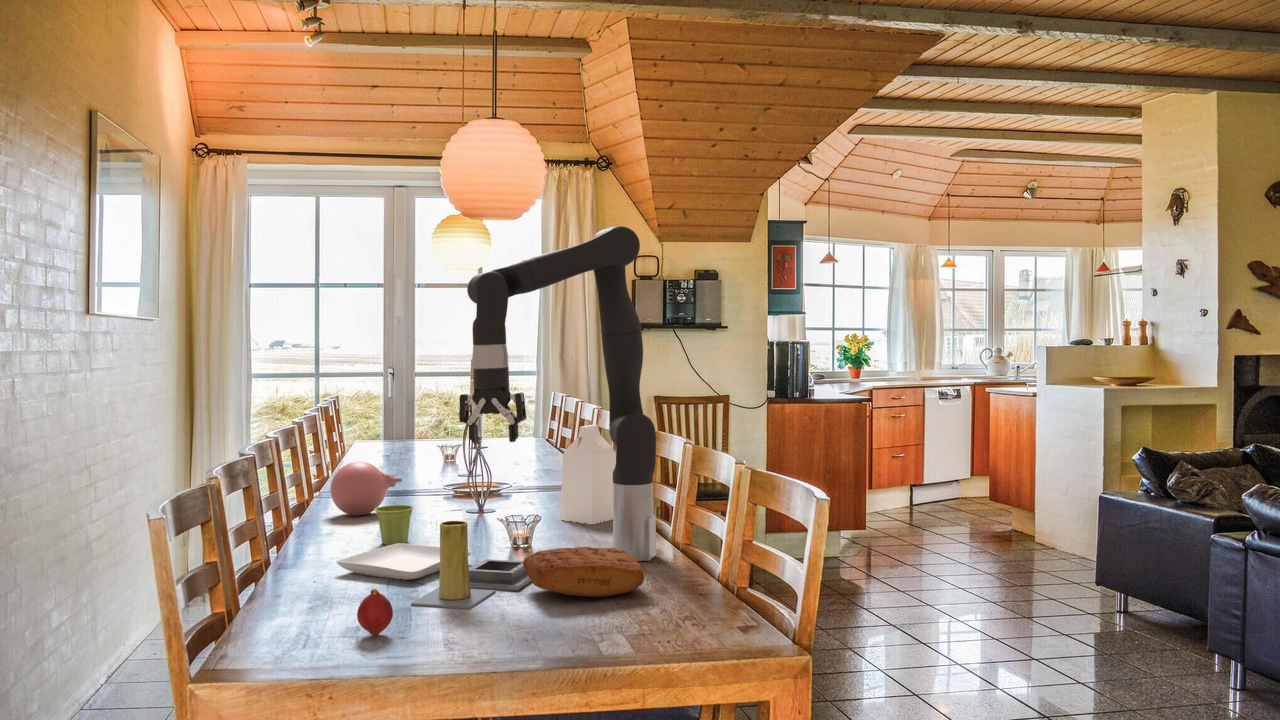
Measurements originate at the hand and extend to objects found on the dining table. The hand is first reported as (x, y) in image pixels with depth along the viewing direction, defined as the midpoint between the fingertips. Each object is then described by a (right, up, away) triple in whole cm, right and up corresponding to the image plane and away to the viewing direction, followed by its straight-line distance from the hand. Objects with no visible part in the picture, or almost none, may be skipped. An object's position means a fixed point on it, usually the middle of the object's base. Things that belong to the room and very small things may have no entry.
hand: (493, 442), depth 202 cm
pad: (-5, -29, -19) cm, 35 cm away
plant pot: (-30, -28, +33) cm, 52 cm away
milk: (+17, -27, +62) cm, 70 cm away
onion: (-14, -29, -42) cm, 53 cm away
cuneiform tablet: (+20, -29, -15) cm, 38 cm away
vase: (-5, -28, -19) cm, 34 cm away
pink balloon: (-48, -27, +71) cm, 90 cm away
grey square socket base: (+2, -28, -5) cm, 29 cm away
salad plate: (-20, -29, +6) cm, 36 cm away
